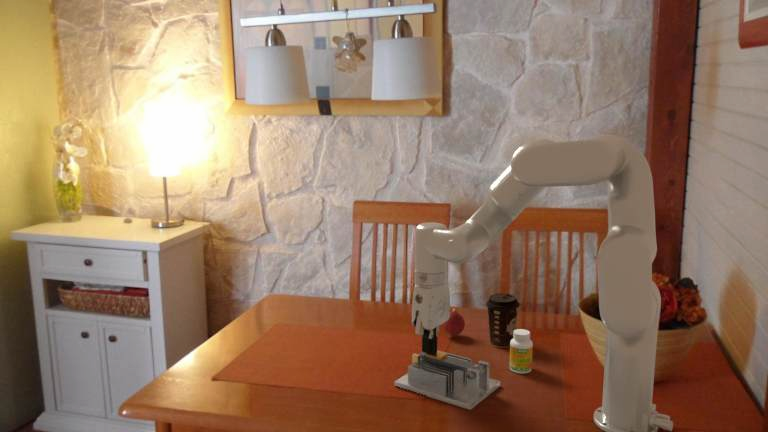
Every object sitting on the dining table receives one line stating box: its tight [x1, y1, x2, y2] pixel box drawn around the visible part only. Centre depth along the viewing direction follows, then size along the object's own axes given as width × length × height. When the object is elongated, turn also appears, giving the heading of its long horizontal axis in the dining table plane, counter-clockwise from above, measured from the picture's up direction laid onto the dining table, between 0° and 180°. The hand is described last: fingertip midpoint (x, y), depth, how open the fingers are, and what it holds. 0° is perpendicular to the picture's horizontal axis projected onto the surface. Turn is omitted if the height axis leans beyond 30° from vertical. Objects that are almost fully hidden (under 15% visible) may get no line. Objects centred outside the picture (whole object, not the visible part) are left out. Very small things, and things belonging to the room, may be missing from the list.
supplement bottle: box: [509, 328, 534, 375], centre depth 167 cm, size 5×5×10 cm
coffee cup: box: [485, 293, 521, 349], centre depth 182 cm, size 9×8×13 cm
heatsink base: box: [394, 349, 501, 411], centre depth 159 cm, size 20×14×7 cm
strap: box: [418, 350, 486, 376], centre depth 158 cm, size 16×3×2 cm, turn 54°
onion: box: [443, 308, 466, 338], centre depth 188 cm, size 6×6×8 cm
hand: (429, 352), depth 161 cm, fingers closed
